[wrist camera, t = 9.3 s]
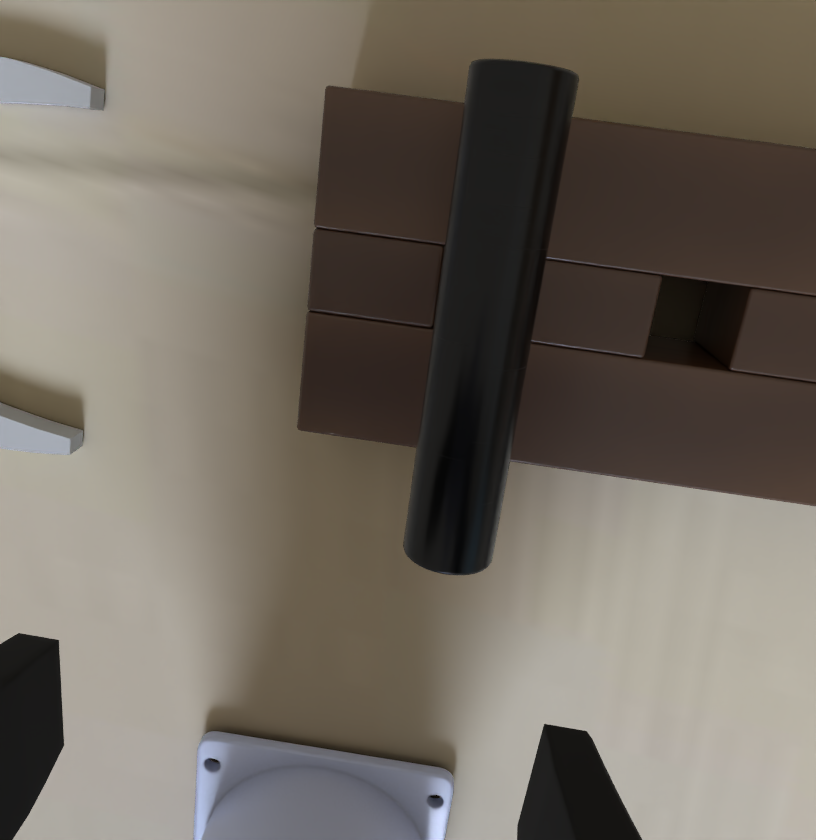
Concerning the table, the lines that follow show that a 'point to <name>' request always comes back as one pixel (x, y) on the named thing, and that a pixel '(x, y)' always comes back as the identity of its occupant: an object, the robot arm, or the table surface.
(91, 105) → the pliers
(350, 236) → the rack
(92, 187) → the table surface
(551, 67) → the black t handle tool
